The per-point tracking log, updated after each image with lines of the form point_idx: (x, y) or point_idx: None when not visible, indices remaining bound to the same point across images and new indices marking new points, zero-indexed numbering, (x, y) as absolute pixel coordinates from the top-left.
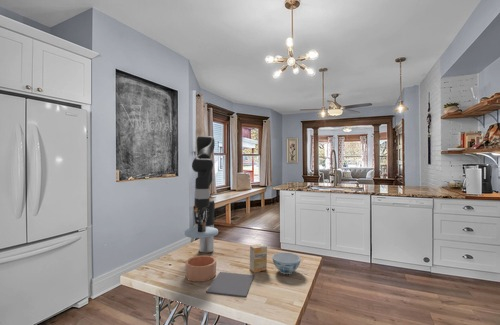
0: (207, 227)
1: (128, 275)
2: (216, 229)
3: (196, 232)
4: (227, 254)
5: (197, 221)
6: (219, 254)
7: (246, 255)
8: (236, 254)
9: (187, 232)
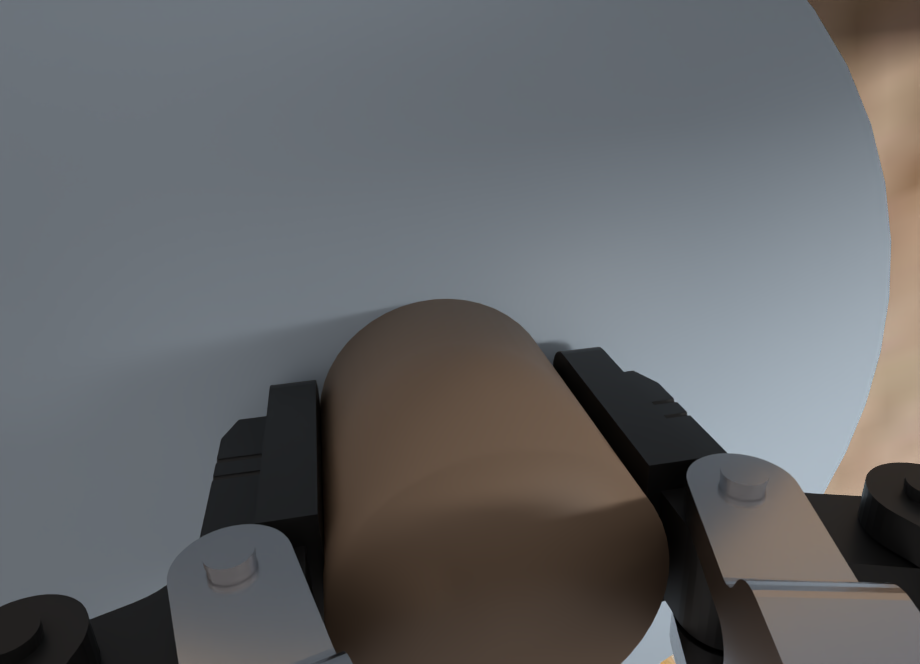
0: (801, 387)
1: None
2: (648, 646)
3: (223, 355)
4: (906, 230)
5: (176, 657)
6: (908, 141)
7: (880, 415)
8: (905, 319)
9: (74, 60)
